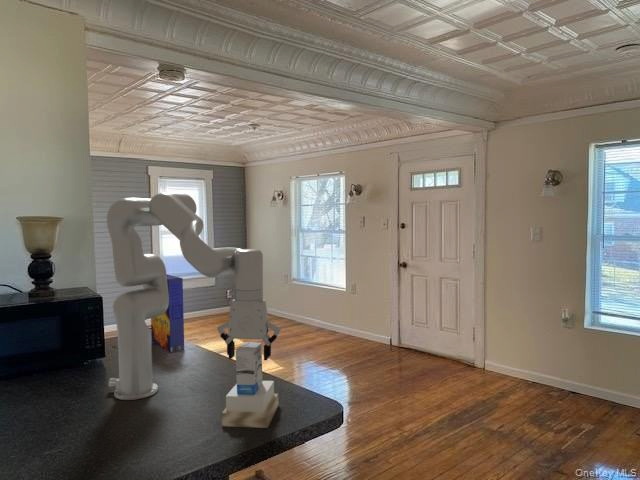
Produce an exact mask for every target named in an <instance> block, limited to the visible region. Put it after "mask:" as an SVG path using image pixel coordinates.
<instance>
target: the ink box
mask: <svg viewBox="0 0 640 480" xmlns="http://www.w3.org/2000/svg"><path fill="white" fill-rule="evenodd" d="M262 343H263V342H255V341H254V342H253V341H251V342H250V341H245V342H243V344H241V345H240V346H238V347H237V348H236V350H235V372H236V374H235V375H236V377H235V378H236V384H237V394H252V395H254V394H255V393H256V392H257V390H258V389H259V388H260V387H261V385H262V384H263V381H264V380H263V355H262V354H263V352H262V351H263V348H262V347H263V345H262Z"/></svg>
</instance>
